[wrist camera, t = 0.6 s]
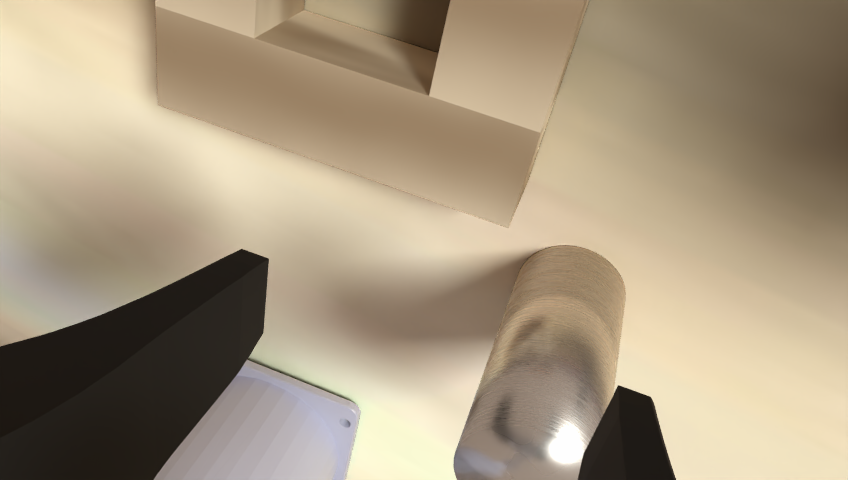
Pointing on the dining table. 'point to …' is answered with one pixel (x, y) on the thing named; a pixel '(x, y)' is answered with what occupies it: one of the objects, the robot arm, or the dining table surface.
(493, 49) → the socket block
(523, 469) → the peg
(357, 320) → the dining table surface
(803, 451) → the dining table surface
